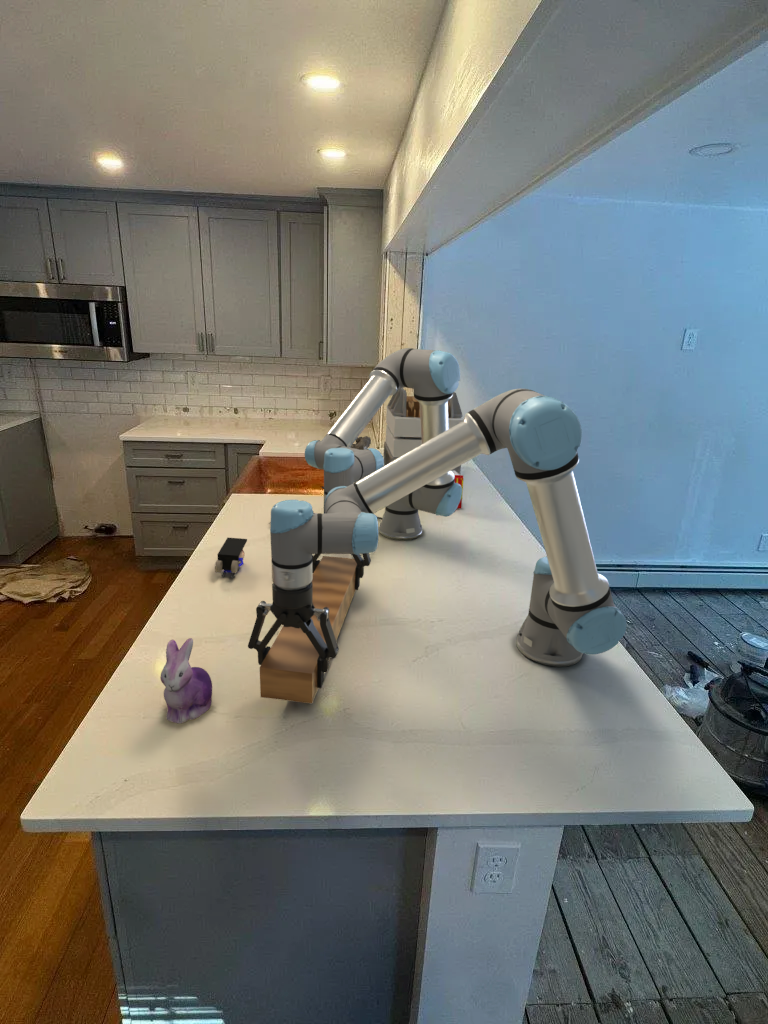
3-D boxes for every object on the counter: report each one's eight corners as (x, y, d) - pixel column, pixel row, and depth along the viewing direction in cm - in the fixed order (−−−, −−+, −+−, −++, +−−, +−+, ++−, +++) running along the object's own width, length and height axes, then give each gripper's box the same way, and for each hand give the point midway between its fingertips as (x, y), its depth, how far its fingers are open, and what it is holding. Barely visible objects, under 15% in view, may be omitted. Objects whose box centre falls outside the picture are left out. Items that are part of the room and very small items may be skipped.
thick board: (322, 577, 159) (323, 555, 157) (359, 581, 158) (359, 559, 156) (260, 697, 110) (259, 667, 107) (312, 703, 109) (312, 673, 106)
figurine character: (238, 584, 162) (249, 557, 175) (236, 562, 158) (247, 536, 172) (215, 584, 161) (227, 556, 175) (212, 561, 158) (225, 535, 171)
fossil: (346, 442, 311) (368, 427, 306) (357, 455, 314) (379, 440, 309) (340, 456, 291) (363, 440, 286) (351, 470, 294) (374, 454, 289)
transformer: (382, 463, 289) (386, 382, 275) (445, 464, 293) (451, 384, 279) (390, 482, 257) (394, 392, 243) (460, 483, 261) (468, 394, 247)
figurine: (167, 732, 103) (160, 663, 98) (160, 699, 112) (153, 633, 107) (220, 718, 108) (215, 650, 103) (209, 687, 116) (204, 623, 111)
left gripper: (291, 510, 144) (292, 588, 151) (380, 517, 141) (377, 596, 149) (298, 500, 151) (299, 575, 158) (384, 507, 148) (380, 583, 156)
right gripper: (226, 585, 104) (232, 685, 112) (348, 597, 102) (346, 699, 109) (241, 567, 111) (245, 663, 119) (355, 578, 109) (353, 676, 116)
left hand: (337, 585), depth 153 cm, fingers closed on thick board, 10 cm apart
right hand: (293, 680), depth 114 cm, fingers closed on thick board, 10 cm apart
